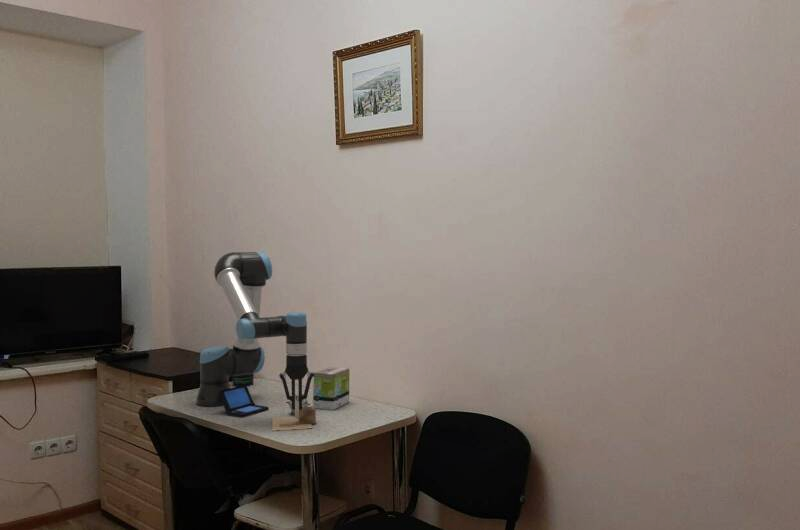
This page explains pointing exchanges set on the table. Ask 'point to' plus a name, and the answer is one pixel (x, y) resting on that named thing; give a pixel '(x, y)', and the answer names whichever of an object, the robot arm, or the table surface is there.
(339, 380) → the tea box
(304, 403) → the grey spiky ornament
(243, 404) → the handheld game console
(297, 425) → the envelope
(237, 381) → the storage jar
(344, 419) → the table surface
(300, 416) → the walnut block
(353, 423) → the table surface
